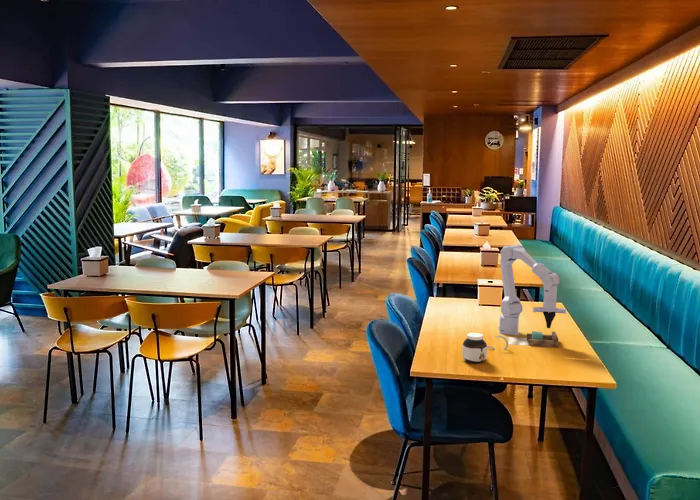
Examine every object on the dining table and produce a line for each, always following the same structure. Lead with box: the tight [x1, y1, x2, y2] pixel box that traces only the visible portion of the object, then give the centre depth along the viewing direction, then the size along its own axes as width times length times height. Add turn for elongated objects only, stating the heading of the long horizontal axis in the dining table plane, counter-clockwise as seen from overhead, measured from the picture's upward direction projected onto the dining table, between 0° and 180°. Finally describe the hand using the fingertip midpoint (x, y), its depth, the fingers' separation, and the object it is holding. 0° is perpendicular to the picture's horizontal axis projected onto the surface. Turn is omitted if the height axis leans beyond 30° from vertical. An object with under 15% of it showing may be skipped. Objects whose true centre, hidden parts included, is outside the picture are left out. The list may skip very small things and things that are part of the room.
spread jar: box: [461, 332, 488, 364], centre depth 269 cm, size 12×11×12 cm
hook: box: [487, 335, 509, 351], centre depth 284 cm, size 7×9×20 cm
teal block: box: [531, 330, 544, 340], centre depth 293 cm, size 4×4×4 cm
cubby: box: [506, 331, 559, 348], centre depth 293 cm, size 22×12×5 cm, turn 79°
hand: (548, 327), depth 291 cm, fingers closed
